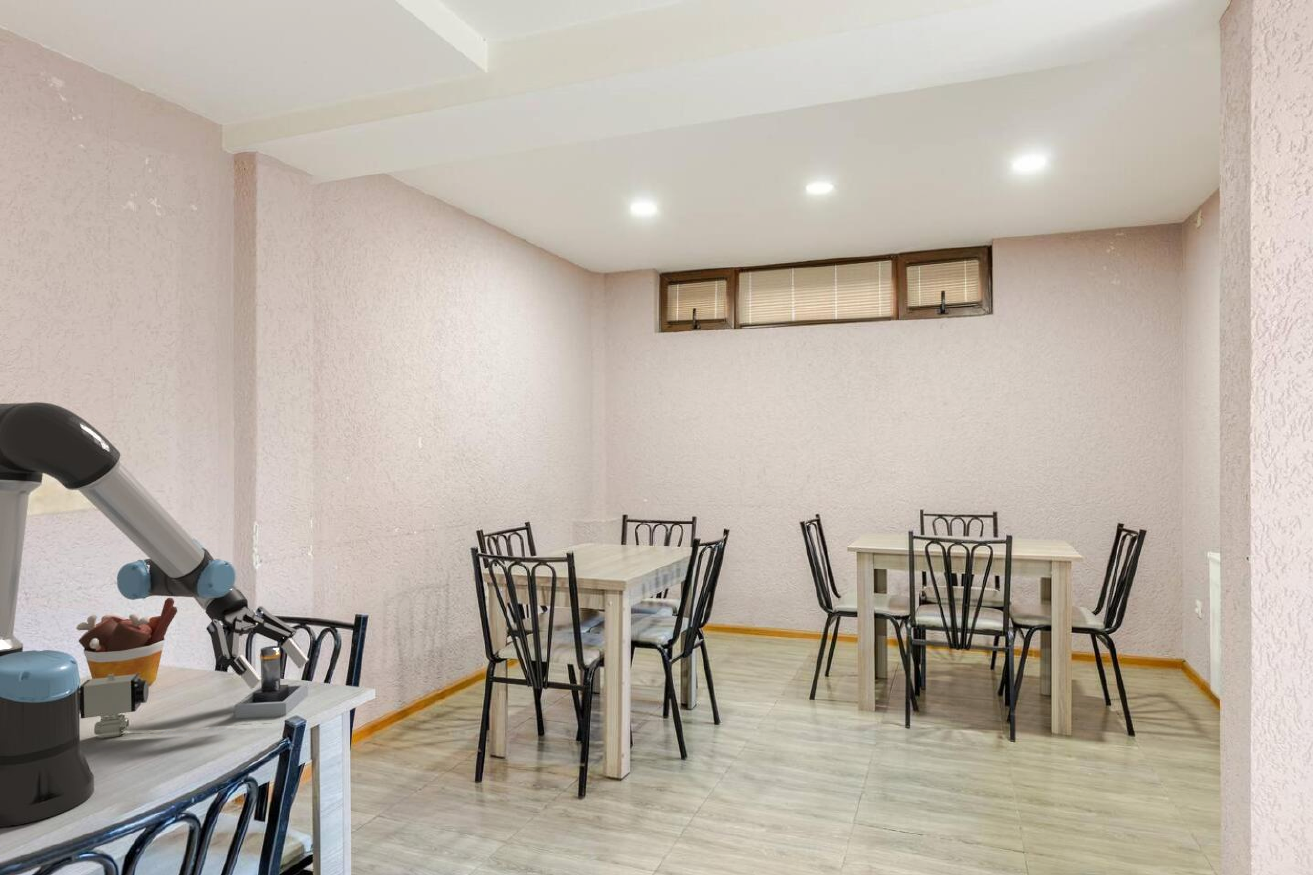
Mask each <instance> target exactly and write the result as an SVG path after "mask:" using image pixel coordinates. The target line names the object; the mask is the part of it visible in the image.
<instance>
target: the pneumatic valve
mask: <svg viewBox="0 0 1313 875" xmlns="http://www.w3.org/2000/svg"><path fill="white" fill-rule="evenodd" d="M149 686H150V685H148V681H147V680H142V678H140V674H133V675H125V676H116V677H114V674H108V677H107V678H98V679H92V678H91V679H86V680H85V681H84V682H83V683H82V684H81V685H79V715H80V719H88V718H89V719H90V718H97V717H100V721H96V722H95V724H94V727H93V728H94V729H93V733H94V735H95V736H97V739H100V740H101V739H103V740H104V739H108V738H116V737H120V736H122V735H123V732H124V730H125V729H126V728H128V727H129V726H130V719H129V717H126V715H125V714H127V713H134V712H136V711H137V710H138V709H139V707H140V706H141V704H145V703H147V702H148V700H149V699H148V698H149V692H150V690H149V688H150V687H149Z"/></svg>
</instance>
